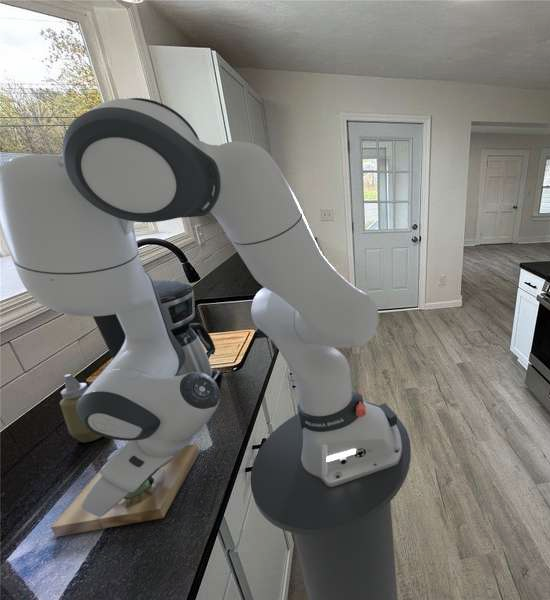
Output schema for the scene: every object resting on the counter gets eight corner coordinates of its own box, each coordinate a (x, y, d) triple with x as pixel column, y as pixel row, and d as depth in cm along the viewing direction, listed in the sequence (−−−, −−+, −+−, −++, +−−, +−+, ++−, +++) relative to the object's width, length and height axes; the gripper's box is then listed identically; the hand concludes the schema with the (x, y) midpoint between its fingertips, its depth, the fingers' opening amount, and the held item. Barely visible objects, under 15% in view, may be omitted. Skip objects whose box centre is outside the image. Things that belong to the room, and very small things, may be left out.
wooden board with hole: (199, 452, 74) (196, 443, 74) (163, 518, 60) (159, 508, 59) (115, 464, 72) (111, 456, 71) (55, 537, 57) (50, 527, 56)
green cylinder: (157, 485, 66) (140, 443, 62) (146, 504, 62) (126, 460, 58) (135, 489, 66) (116, 447, 62) (122, 508, 62) (101, 464, 58)
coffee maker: (207, 402, 92) (174, 294, 80) (77, 424, 85) (20, 309, 74) (228, 362, 113) (204, 272, 101) (125, 377, 106) (86, 283, 94)
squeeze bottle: (85, 427, 84) (57, 370, 78) (122, 420, 86) (97, 363, 80) (66, 450, 77) (33, 388, 70) (106, 441, 79) (78, 381, 73)
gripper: (185, 393, 67) (157, 428, 71) (91, 476, 48) (59, 518, 52) (210, 410, 68) (181, 444, 73) (128, 498, 49) (94, 537, 53)
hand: (129, 475), depth 62 cm, fingers open, 6 cm apart
